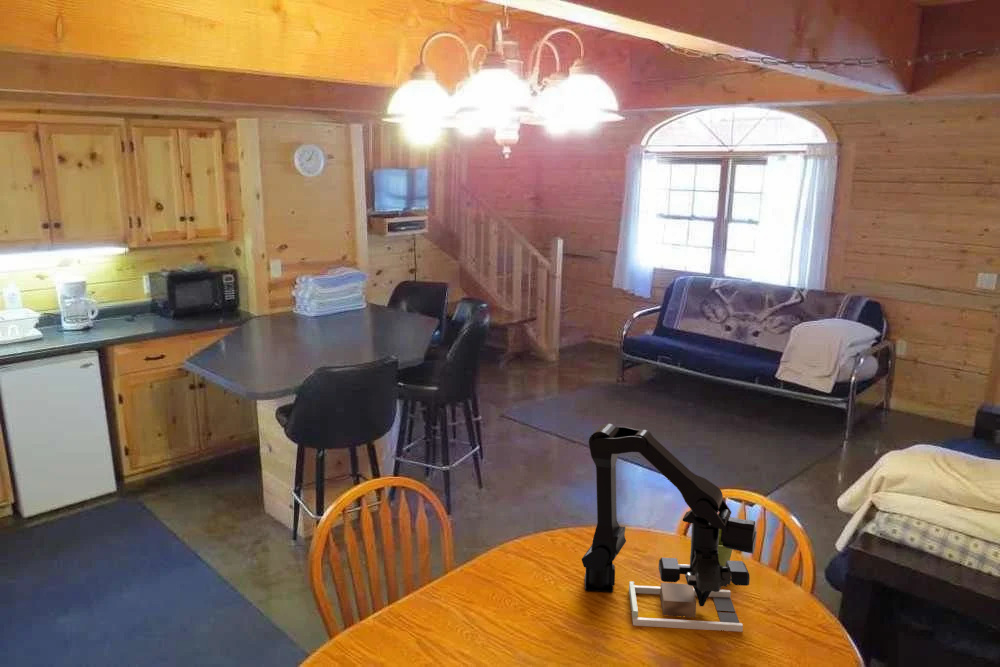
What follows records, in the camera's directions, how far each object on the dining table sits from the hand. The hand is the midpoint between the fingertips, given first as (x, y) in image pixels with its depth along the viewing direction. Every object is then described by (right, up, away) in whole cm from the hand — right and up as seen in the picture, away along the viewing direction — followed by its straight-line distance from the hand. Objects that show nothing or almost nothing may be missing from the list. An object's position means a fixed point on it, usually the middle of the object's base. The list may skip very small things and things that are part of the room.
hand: (701, 605), depth 155 cm
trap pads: (+6, -1, 0) cm, 6 cm away
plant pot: (+9, +2, +18) cm, 20 cm away
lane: (-4, -1, +1) cm, 4 cm away
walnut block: (-5, -1, +2) cm, 5 cm away
